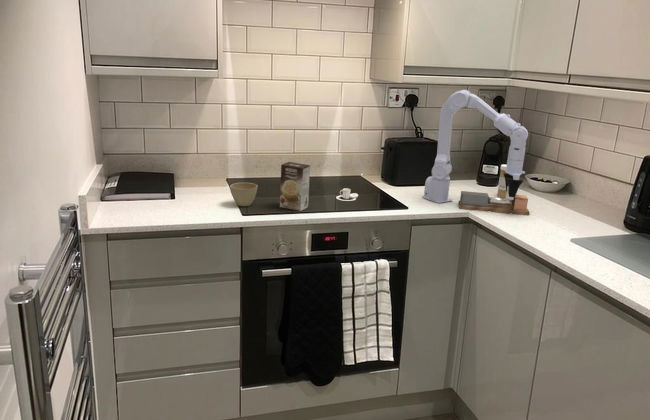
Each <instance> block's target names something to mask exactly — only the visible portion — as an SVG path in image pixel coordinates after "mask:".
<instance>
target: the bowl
mask: <svg viewBox="0 0 650 420" xmlns="http://www.w3.org/2000/svg"><path fill="white" fill-rule="evenodd" d="M229 189H230V193H231V196H232V198H233V200H234V203H235V204H236V205H237V206H239V207H250V206H251V205H252V203H254V200H255V198H256V195H257V192H258V184H256V183H253V182H235V183H232V184H231V185H229Z"/></svg>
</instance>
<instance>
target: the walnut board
mask: <svg viewBox="0 0 650 420" xmlns="http://www.w3.org/2000/svg"><path fill="white" fill-rule="evenodd" d="M457 203H458V208H459V209H460V210H466V211H467V210H468V211H477V210H478V212H479V211H480V212H488V211H491V212H490V213H499V212H500V213H501V214H510V213H512V214H511V215H522V216H523V215H524V216H530V211H529V209H528V208H527V209H526V211H521V210H514V209H513V207H512V206H506V205H495V204H488V205H487V207H480V206H469V205H460V200H458V202H457Z"/></svg>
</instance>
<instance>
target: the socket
mask: <svg viewBox="0 0 650 420" xmlns="http://www.w3.org/2000/svg"><path fill="white" fill-rule="evenodd" d="M513 199H515V203H514V206H512V207H513V209H514V210H521V211H526V209H528V203H529V198H528V196H527V195H525V194H517V193H516V196H515V197H514V198H513Z"/></svg>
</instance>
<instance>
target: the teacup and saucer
mask: <svg viewBox="0 0 650 420" xmlns="http://www.w3.org/2000/svg"><path fill="white" fill-rule="evenodd" d="M339 194H340V195H338V196H336V197H335V198H336V199H337V200H339V201H344V202H350V201H351V202H353V201H356V200H357V198H358V197H359V194H358V193H356V192H355V193H351V188H346V187H345V188H342V189H341V190H340V191H339ZM341 197H342V198H343V199H341ZM349 199H350V200H349Z"/></svg>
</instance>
